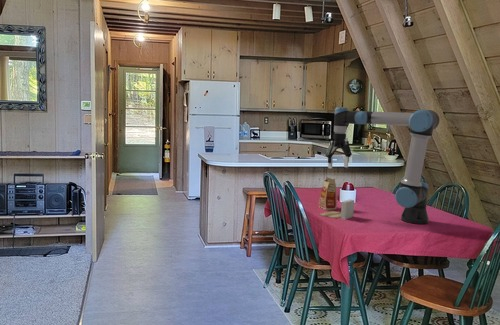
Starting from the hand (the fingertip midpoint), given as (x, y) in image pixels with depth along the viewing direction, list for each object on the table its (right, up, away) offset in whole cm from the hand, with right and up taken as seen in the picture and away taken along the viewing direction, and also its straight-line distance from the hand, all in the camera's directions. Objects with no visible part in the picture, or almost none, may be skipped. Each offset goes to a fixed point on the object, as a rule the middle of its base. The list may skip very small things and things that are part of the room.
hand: (338, 167), depth 292 cm
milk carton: (-4, -26, +13) cm, 29 cm away
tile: (+3, -29, -11) cm, 31 cm away
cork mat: (-4, -28, -6) cm, 29 cm away
